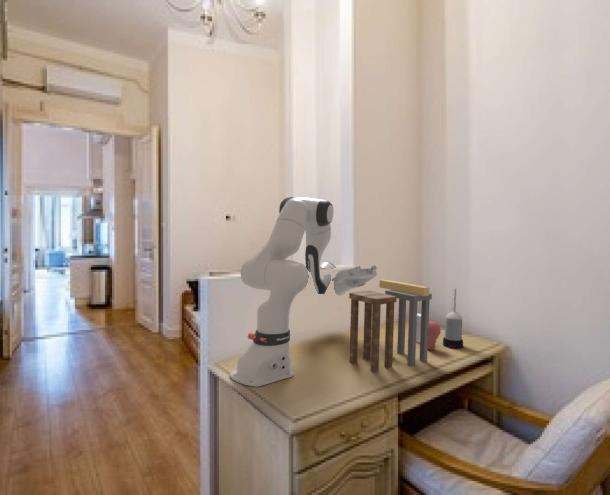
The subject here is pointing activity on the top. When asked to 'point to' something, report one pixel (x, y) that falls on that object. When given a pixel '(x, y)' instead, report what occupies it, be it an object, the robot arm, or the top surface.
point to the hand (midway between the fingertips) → (367, 267)
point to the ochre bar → (404, 287)
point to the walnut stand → (373, 319)
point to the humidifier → (453, 329)
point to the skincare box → (418, 328)
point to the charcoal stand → (412, 324)
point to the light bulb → (433, 334)
